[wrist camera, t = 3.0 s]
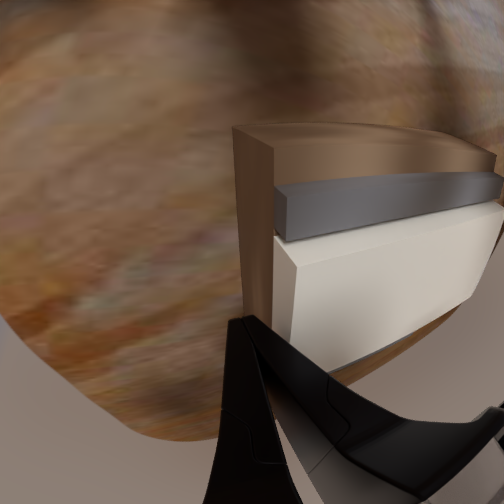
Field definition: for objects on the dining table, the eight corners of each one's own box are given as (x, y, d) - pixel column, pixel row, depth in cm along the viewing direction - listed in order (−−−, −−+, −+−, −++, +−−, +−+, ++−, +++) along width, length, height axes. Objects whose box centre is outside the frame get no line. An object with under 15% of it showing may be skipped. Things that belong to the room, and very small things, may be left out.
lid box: (444, 132, 13) (508, 160, 9) (409, 276, 19) (450, 317, 15) (232, 126, 10) (288, 155, 6) (245, 330, 16) (275, 400, 12)
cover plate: (487, 196, 11) (507, 209, 10) (456, 281, 14) (471, 295, 13) (273, 236, 8) (296, 267, 7) (270, 359, 11) (284, 387, 10)
